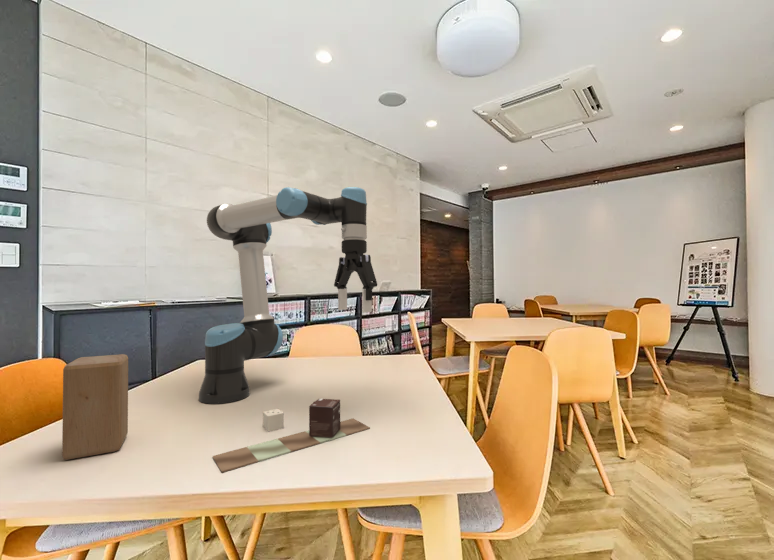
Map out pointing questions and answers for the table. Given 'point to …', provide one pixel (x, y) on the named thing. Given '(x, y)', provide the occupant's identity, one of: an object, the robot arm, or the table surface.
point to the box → (324, 418)
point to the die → (273, 420)
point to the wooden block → (94, 405)
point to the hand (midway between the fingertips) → (354, 311)
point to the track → (280, 446)
